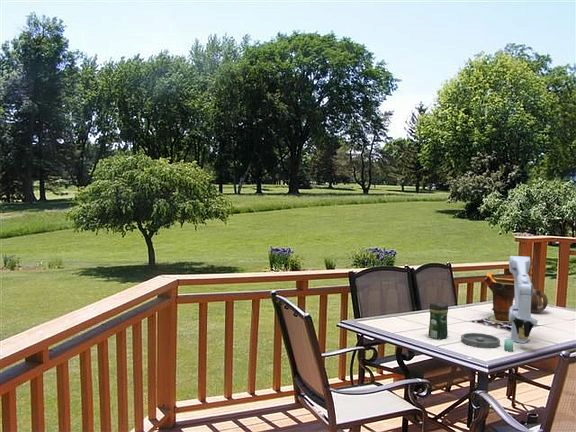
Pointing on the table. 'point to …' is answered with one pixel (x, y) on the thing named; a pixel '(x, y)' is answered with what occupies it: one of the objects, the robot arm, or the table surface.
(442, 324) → the coffee jar
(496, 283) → the decorative vase
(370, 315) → the table surface
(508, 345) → the teal cylinder
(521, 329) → the tan wooden cylinder
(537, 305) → the wooden sphere
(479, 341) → the ring tray
